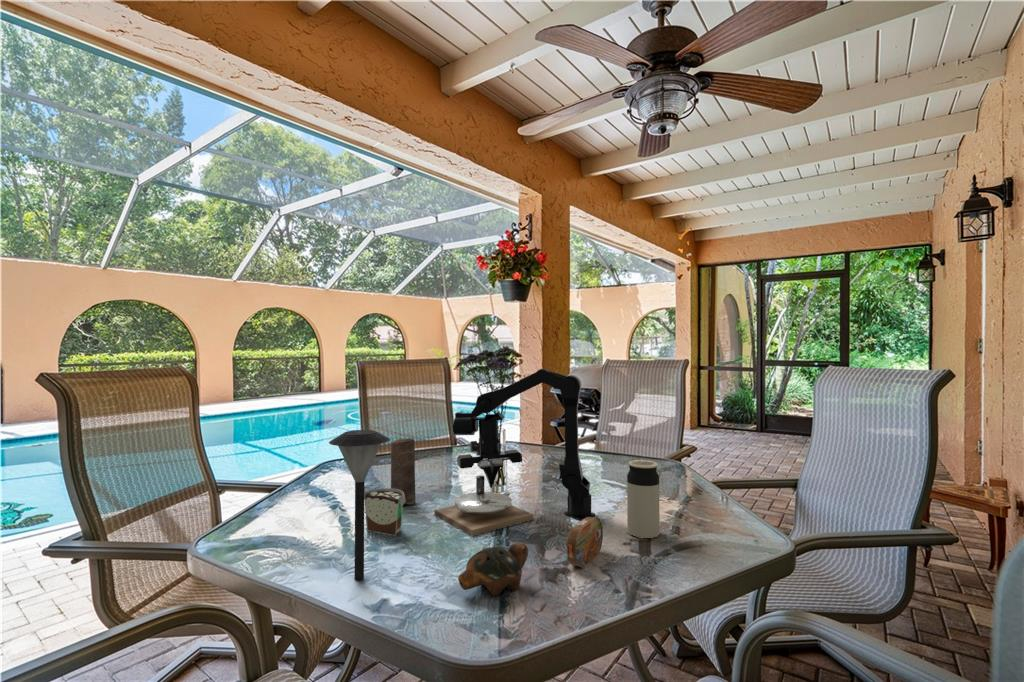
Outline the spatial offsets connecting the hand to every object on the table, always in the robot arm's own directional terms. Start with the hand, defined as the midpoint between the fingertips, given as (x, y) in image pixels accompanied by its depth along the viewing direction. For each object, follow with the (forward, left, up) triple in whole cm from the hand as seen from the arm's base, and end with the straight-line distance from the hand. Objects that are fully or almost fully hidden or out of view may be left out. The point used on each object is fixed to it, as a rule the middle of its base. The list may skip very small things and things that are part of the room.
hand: (490, 487), depth 145 cm
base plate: (-5, +6, -6) cm, 10 cm away
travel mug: (-40, -20, -7) cm, 45 cm away
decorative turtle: (-41, +27, -7) cm, 49 cm away
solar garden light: (-21, +47, -7) cm, 52 cm away
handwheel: (-5, +6, -4) cm, 9 cm away
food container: (+2, +31, -7) cm, 32 cm away
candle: (+20, +19, -7) cm, 28 cm away
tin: (-42, +3, -7) cm, 42 cm away
